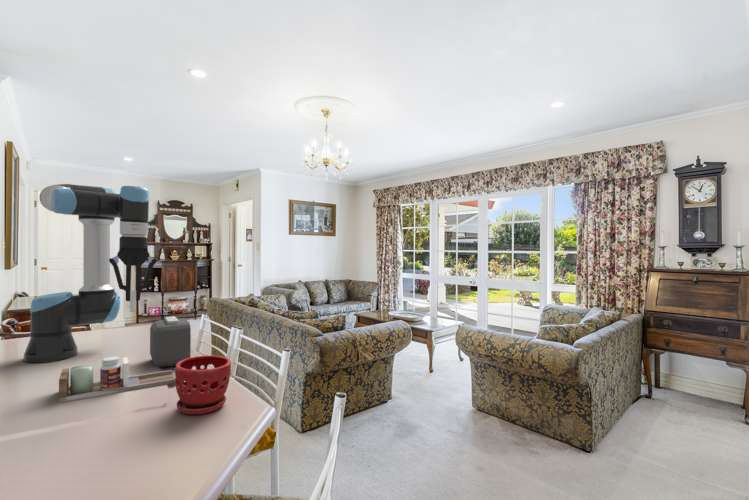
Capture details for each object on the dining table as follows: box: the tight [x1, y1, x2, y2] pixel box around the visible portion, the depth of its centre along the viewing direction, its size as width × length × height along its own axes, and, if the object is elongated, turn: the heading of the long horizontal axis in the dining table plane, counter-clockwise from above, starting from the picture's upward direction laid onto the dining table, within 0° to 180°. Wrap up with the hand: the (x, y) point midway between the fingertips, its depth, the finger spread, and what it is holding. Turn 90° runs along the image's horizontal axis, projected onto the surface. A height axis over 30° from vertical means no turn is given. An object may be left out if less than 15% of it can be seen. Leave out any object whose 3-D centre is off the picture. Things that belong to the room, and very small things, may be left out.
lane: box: [58, 367, 176, 404], centre depth 110 cm, size 10×27×7 cm, turn 125°
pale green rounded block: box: [69, 364, 94, 395], centre depth 104 cm, size 5×5×7 cm
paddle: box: [122, 356, 140, 387], centre depth 111 cm, size 7×4×7 cm, turn 35°
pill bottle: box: [99, 356, 122, 390], centre depth 108 cm, size 5×5×8 cm
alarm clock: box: [149, 315, 192, 368], centre depth 136 cm, size 16×11×16 cm
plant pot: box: [174, 355, 232, 415], centre depth 98 cm, size 13×13×12 cm
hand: (132, 311), depth 119 cm, fingers closed
